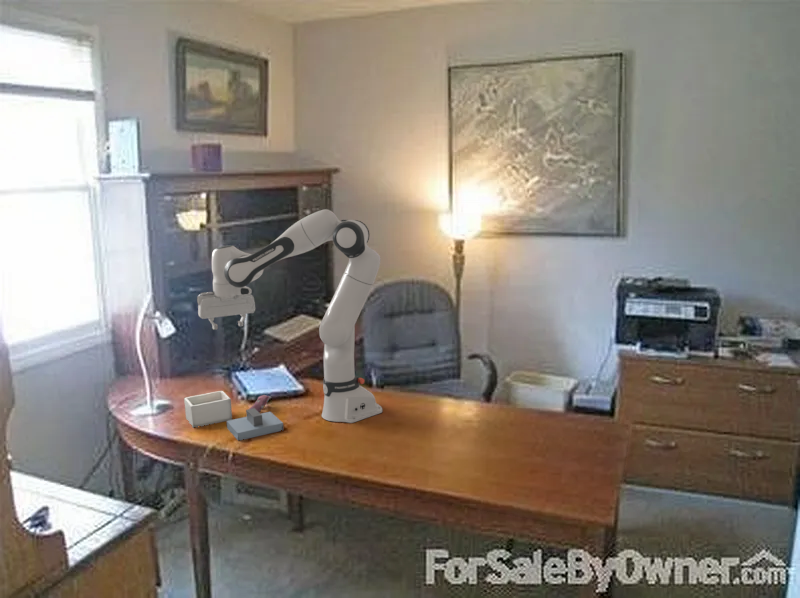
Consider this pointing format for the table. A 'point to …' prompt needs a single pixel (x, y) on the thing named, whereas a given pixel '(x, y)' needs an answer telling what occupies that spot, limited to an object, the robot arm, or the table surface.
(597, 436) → the table surface
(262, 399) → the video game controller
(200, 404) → the storage box
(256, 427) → the lid
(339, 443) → the table surface
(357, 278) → the robot arm
